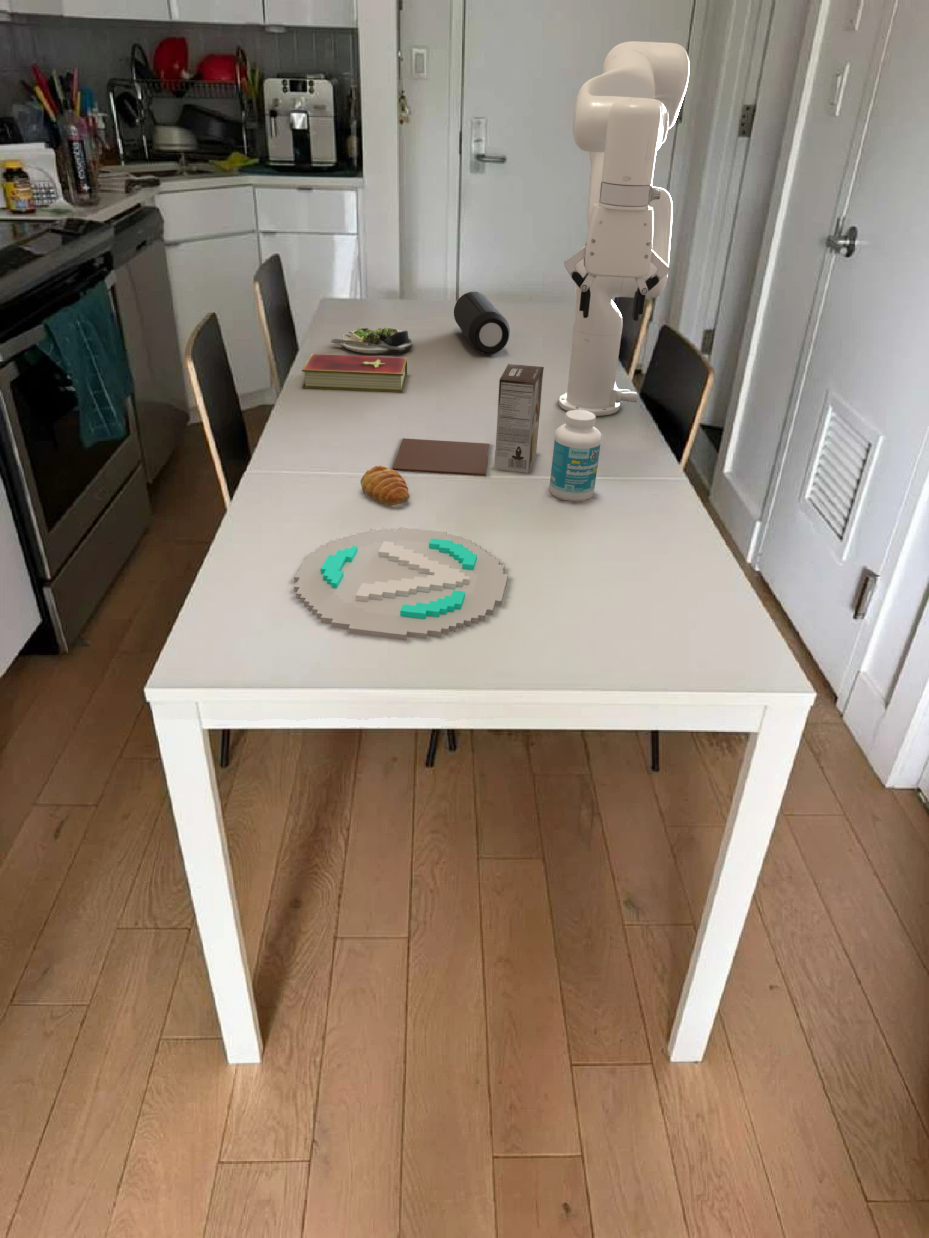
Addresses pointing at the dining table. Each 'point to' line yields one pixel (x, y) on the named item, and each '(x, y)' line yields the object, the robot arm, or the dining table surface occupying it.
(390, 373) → the hardcover book
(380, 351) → the salad plate
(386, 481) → the pastry
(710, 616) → the dining table surface
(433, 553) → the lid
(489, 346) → the portable speaker
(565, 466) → the pill bottle
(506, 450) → the coffee box
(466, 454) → the mat
